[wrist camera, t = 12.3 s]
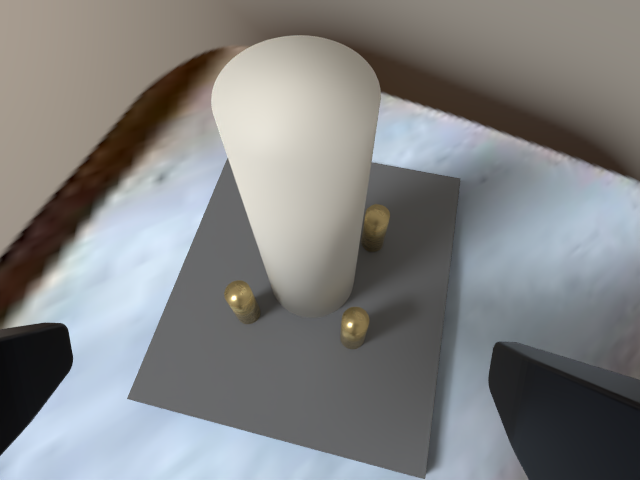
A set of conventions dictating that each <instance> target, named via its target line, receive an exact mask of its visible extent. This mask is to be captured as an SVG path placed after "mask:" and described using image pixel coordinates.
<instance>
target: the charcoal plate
mask: <svg viewBox="0 0 640 480" xmlns="http://www.w3.org/2000/svg"><path fill="white" fill-rule="evenodd" d="M459 186H460V179H459V178H453V177H448V176H442V175H437V174H432V173H426V172H421V171H415V170H410V169H404V168H399V167H393V166H388V165H382V164H377V163H371V168H370V175H369V182H368V189H367V195H366V202H365V209H364V216H363V223H362V230H361V236H360V243H359V250H358V257H357V264H356V271H355V277H354V284H353V289H352V292H351V294H350V296H349V298H348V299H347V301H346V302H345V303H344V304H343V305H342V306H341V307H340V308H339V309H338V310H336V311H335V312H333V313H331V314H329V315H326V316H323V317H317V318H306V317H301V316H298V315H295V314H293V313H291V312H289V311H288V310H286V309H285V308H284V307H283V306H282V305H281V304H280V303H279V302H278V300H277V299H276V297H275V295H274V293H273V290H272V287H271V284H270V281H269V278H268V275H267V272H266V269H265V266H264V263H263V260H262V257H261V254H260V251H259V248H258V245H257V242H256V239H255V237H254V234H253V231H252V228H251V225H250V222H249V219H248V216H247V213H246V210H245V207H244V204H243V201H242V198H241V195H240V192H239V189H238V186H237V183H236V180H235V177H234V174H233V171H232V168H231V165H230V163H229V160H228V158H227V161H226V163H225V165H224V168H223V170H222V172H221V175H220V177H219V180H218V182H217V184H216V187H215V189H214V192H213V194H212V196H211V199H210V201H209V204H208V206H207V208H206V211H205V213H204V216H203V218H202V220H201V223H200V225H199V228H198V230H197V232H196V235H195V237H194V240H193V242H192V244H191V247H190V249H189V252H188V254H187V256H186V259H185V261H184V264H183V266H182V268H181V271H180V273H179V276H178V278H177V280H176V283H175V285H174V288H173V290H172V292H171V295H170V297H169V300H168V302H167V304H166V307H165V309H164V312H163V314H162V316H161V319H160V321H159V324H158V326H157V328H156V331H155V333H154V336H153V338H152V340H151V343H150V345H149V347H148V350H147V352H146V355H145V357H144V359H143V362H142V364H141V367H140V369H139V371H138V374H137V376H136V379H135V381H134V383H133V386H132V388H131V391H130V393H129V395H128V398H127V399H130V400H134V401H137V402H141V403H145V404H148V405H152V406H156V407H159V408H163V409H167V410H170V411H174V412H178V413H182V414H185V415H189V416H193V417H196V418H200V419H204V420H208V421H211V422H215V423H219V424H222V425H226V426H230V427H233V428H237V429H241V430H245V431H248V432H252V433H256V434H259V435H263V436H267V437H270V438H274V439H278V440H282V441H285V442H289V443H293V444H296V445H300V446H304V447H308V448H311V449H315V450H319V451H322V452H326V453H330V454H333V455H337V456H341V457H345V458H348V459H352V460H356V461H359V462H363V463H367V464H370V465H374V466H378V467H382V468H385V469H389V470H393V471H396V472H400V473H404V474H408V475H411V476H415V477H419V478H423V479H425V476H426V467H427V459H428V450H429V442H430V433H431V425H432V416H433V408H434V399H435V391H436V382H437V374H438V365H439V356H440V348H441V339H442V331H443V322H444V314H445V305H446V297H447V288H448V280H449V271H450V263H451V254H452V246H453V237H454V229H455V220H456V212H457V203H458V194H459Z"/></svg>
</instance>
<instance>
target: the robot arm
mask: <svg viewBox="0 0 640 480" xmlns="http://www.w3.org/2000/svg"><path fill="white" fill-rule="evenodd" d="M72 363H73V354H72V349H71V343H70V337H69V332H68V328H67V327H66V326H65V325H64V324H62V323H39V324H33V325H26V326H20V327H13V328H7V329H0V456H1V455H2V454H3V452H4V451H5V450H6V449H7V448H8V447H9V446H10V445H11V444H12V443H13V441H14V440H15V439H16V438H17V437H18V436H19V435H20V434H21V433H22V432H23V430H24V429H25V428H26V427H27V426H28V425H29V424H30V422H31V421H32V420H33V419H34V417H35V416H36V415H37V414H38V412H39V411H40V410H41V408H42V407H43V406H44V404H45V403H46V402H47V400H48V399H49V398H50V396H51V395H52V394H53V392H54V391H55V390H56V388H57V387H58V386H59V384H60V383H61V382H62V381H63V379H64V378H65V377H66V375H67V374H68V373H69V371H70V369H71V367H72ZM489 388H490V392H491V394H492V397H493V399H494V402H495V405H496V407H497V410H498V413H499V415H500V418H501V420H502V423H503V426H504V428H505V431H506V434H507V436H508V439H509V441H510V443H511V446H512V448H513V450H514V452H515V454H516V456H517V458H518V460H519V462H520V464H521V466H522V467H523V469H524V471H525V473H526V475H527V477H528V479H529V480H640V380H638V379H635V378H632V377H628V376H625V375H622V374H618V373H615V372H612V371H609V370H605V369H602V368H599V367H595V366H592V365H589V364H586V363H582V362H579V361H576V360H572V359H569V358H566V357H563V356H559V355H556V354H553V353H549V352H546V351H543V350H539V349H536V348H533V347H530V346H526V345H523V344H520V343H516V342H497V343H496V344H495V345H494V348H493V353H492V359H491V365H490V371H489Z"/></svg>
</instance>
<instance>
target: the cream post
mask: <svg viewBox="0 0 640 480" xmlns="http://www.w3.org/2000/svg"><path fill="white" fill-rule="evenodd" d="M380 100H381V93H380V86H379V82H378V79H377V77H376V74H375V73H374V71H373V69H372V68H371V66H370V65H369V64H368V63H367V61H366V60H365V59H363V58H362V57H361V56H360V55H359V54H358V53H356V52H355V51H353V50H352V49H350V48H348V47H347V46H345V45H343V44H340V43H338V42H335V41H332V40H329V39H326V38H320V37H314V36H300V35H298V36H297V35H296V36H284V37H279V38H274V39H270V40H266V41H264V42H260V43H258V44H256V45H253V46H251V47H249V48H247V49H246V50H244V51H242V52H241V53H239V54H238V55H237V56H235V57H234V58H233V59H232V60H231V61H230V62H229V63H228V64H227V65H226V66H225V67H224V68H223V70H222V71H221V72H220V74H219V76H218V78H217V79H216V82H215V84H214V87H213V91H212V98H211V105H212V112H213V115H214V118H215V121H216V124H217V127H218V130H219V133H220V136H221V139H222V142H223V145H224V148H225V151H226V154H227V157H228V160H229V163H230V165H231V168H232V171H233V174H234V177H235V180H236V183H237V186H238V189H239V192H240V195H241V198H242V201H243V204H244V207H245V210H246V213H247V216H248V219H249V222H250V225H251V228H252V231H253V234H254V237H255V239H256V242H257V245H258V248H259V251H260V254H261V257H262V260H263V263H264V266H265V269H266V272H267V275H268V278H269V281H270V284H271V287H272V290H273V293H274V295H275V297H276V299H277V300H278V302H279V303H280V304H281V305H282V306H283V307H284V308H285V309H286V310H288V311H289V312H291V313H293V314H295V315H298V316H301V317H306V318H317V317H323V316H326V315H329V314H331V313H333V312H335V311H336V310H338V309H339V308H340V307H341V306H342V305H343V304H344V303H345V302H346V301H347V299H348V298H349V296H350V294H351V292H352V289H353V284H354V277H355V271H356V264H357V257H358V250H359V243H360V236H361V230H362V223H363V216H364V209H365V202H366V195H367V189H368V182H369V175H370V168H371V161H372V154H373V148H374V141H375V134H376V127H377V120H378V113H379V107H380Z"/></svg>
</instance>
